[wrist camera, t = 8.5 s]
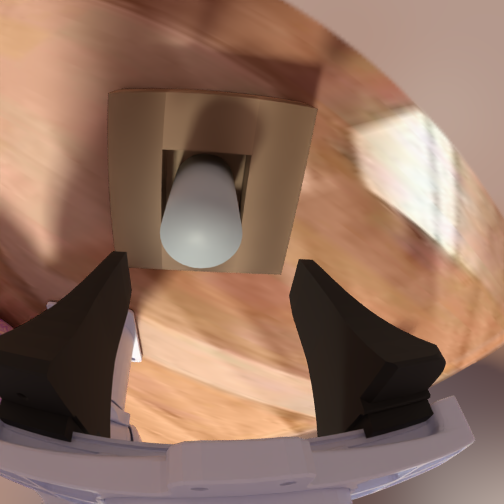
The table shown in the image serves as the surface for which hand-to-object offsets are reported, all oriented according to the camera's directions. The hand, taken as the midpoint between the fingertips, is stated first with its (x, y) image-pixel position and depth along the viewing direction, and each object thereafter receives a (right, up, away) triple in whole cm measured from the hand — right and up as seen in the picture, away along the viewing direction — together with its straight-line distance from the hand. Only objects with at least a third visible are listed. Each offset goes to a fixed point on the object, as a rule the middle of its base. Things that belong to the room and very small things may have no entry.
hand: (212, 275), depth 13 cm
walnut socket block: (-2, +6, +8) cm, 10 cm away
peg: (-2, +6, +8) cm, 10 cm away
